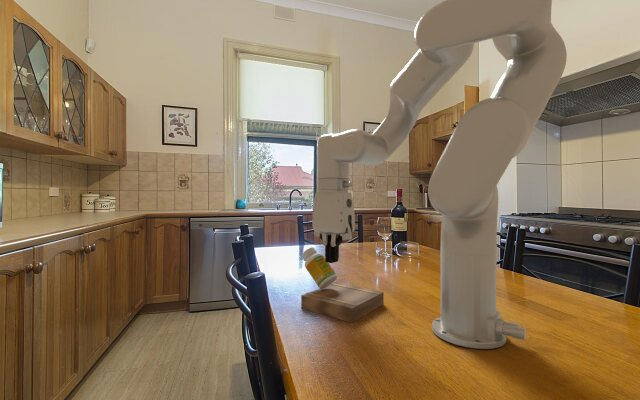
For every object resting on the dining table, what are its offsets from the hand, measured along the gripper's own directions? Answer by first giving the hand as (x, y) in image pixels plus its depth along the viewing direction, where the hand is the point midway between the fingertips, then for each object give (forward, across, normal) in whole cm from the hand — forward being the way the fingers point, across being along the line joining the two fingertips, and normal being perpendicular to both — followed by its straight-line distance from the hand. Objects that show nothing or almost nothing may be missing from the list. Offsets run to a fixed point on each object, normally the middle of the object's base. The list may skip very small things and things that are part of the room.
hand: (331, 261), depth 76 cm
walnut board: (+10, -3, 0) cm, 11 cm away
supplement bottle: (+5, +1, 0) cm, 5 cm away
